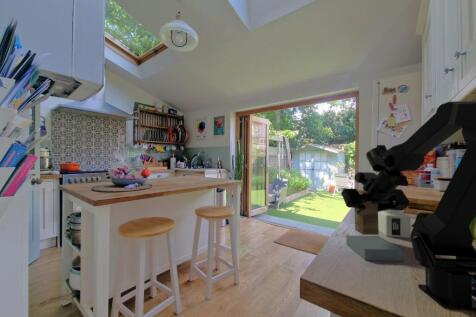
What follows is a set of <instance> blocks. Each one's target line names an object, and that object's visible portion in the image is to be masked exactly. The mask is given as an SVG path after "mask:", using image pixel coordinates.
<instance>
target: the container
mask: <svg viewBox="0 0 476 317" xmlns="http://www.w3.org/2000/svg"><path fill="white" fill-rule="evenodd" d="M396 204H397V203H396V201H395V202H394V206H395V205H396ZM395 207H396V206H395ZM411 219H412V218H411V216H410V215H409V214H406V213H405V208H397V207H396V208H395V209H390V210H385V211H381V212H378V230H379V232H380V233H381V234H383V235H384V236H385V237H390V238H392V237H393V238H405V239H406V238H407V239H411V238H410V236H411V232H412V229H411V227H412V226H411V225H412V224H411V223H412V222H411V221H412V220H411Z"/></svg>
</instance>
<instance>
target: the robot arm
mask: <svg viewBox="0 0 476 317" xmlns="http://www.w3.org/2000/svg"><path fill="white" fill-rule="evenodd" d="M459 130H461V135H462V138H463V140H464V144H465V146H466V149H465V152H464V153H463V155H462V157H461V159H460V161H459V163H458V165H457V167H456V169H455V171H454V173H453V174H452V177H451V179H450V180H449V182H448V184H447V187H446V188H445V190H444V193H443V195H441V199H440V200H439V201H438V204H437V206H436V208H435V209H434V211H433V212H418V214H417V215H416V217H415V221H414V222H413V224H411V227H412V229H411V236H410V238H409V239H410V242H411V247H412V250H413V254H414V258H415V260H416V261H417V262H418V265H420V266H421V267H424V268H425V269H424V270H425V284H421V283H419V284H417V285H418V286H417V287H418V288H419V289H420V290H421V291H422V292H424V293H426V295H428V296H429V297H430V298H431V299H432V300H433V301H435V302H436V303H437V304H439V305H440V306H441V307H443V308H447V309H448V308H449V309H458V310H471V311H472V310H473V311H476V302H475V301H474V300H473V274H472V273H474V274H476V248H475V246H473V242H474V239H475V236H474V234H473V232H472V229H471V227H470V226H471V223H472V221H473V220H474V219H475V218H476V101H473V100H464V101H463V100H460V101H459V100H458V101H446V102H444V103H442V104H439V106H438V107H437V108H436V111H435V113H434V114H433V115H432V116H431V117H430V118H429V119H428V120H427V121H426V122H424V124H422V125H421V126H420V127H419V128H418V129H417V130H416V131H415V132H414V133H413V134H412V135H411V136H409V137H408V138H407V140H405V141H403V142H402V143H400V144H395V145H392V146H391V147H390V148H388V149H387V147H386V145H385V144H377V145H376V147H373V148H371V149H370V150H368V151H367V152H366V153H365V157H366V159H367V161H368V163H369V164H370V167H371V169H372V170H373V171H374V172H371V171H370V172H369V171H368V172H367V171H365V172H363V171H361V172H360V171H359V172H358V171H357V172H356V173H355V175H354V180H355V181H356V183H358V184H362V185H363V186H362V190H364V191H366V193H363V194H359V193H358V191H357V190H358V189H357V188H350V187H349V188H343V189H342V190H341V196H342V198H343V201H344V204H345V205H346V207H347V208H351V209H354V213H355V212H356V213H358V212H360V211H362V210H364V209H366V207H365V205H364V204H365V203H366V202H372V203H378V212H381V211H385V210H390V209H395V208H396V207H397V208H404V209H407V208H408V207H409V206H410V200H409V198H408V197H407V196H406V194H405V193H404V191H403V190H402V189H401V188H398V187H399V186H401V187H409V181H408V179H407V176H406V175H405V174H404V172H415V171H417V170H419V169H420V167H421V166H423V165H424V164H425V161H426V156H427V154H428V153H430V152H431V151H433V150H434V149H435V148H437V147H438V146H440V145H441V144H442V143H444V142H445V141H446V140H447V139H449V138H450V137H452V136H453V135H454V134H456V133H458V131H459ZM375 172H376V173H377V174H376V173H375ZM395 201H396V203H397V204H396V205H395V206H396V207H395V206H394V202H395ZM437 256H444V257H437ZM445 256H446V257H445ZM447 257H449V258H447ZM450 257H455V258H450ZM470 273H471V274H470Z"/></svg>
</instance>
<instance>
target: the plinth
mask: <svg viewBox="0 0 476 317" xmlns="http://www.w3.org/2000/svg"><path fill="white" fill-rule="evenodd" d="M346 246H347V247H348V248H350V249H351V250H352V251H353V252H354V253H355V254H357V255H358V256H359V257H361V259H363V260H364V261H389V262H391V261H395V262H397V261H399V262H403V260H404V259H403V249H402V248H400V247H398V246H397V245H395V244H393V243H391V242H390V241H387V240H386V239H384V238H382V237H380V236H379V235H373V236H372V235H346Z"/></svg>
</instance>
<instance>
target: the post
mask: <svg viewBox="0 0 476 317" xmlns="http://www.w3.org/2000/svg"><path fill="white" fill-rule="evenodd" d="M357 191H358V193H359V194H363V193H366V191H364V190H363V189H362V190H361V189H360V190H359V189H357ZM364 205H365V207H366V209H364V210H362V211H360V212H358V213H356V212H355V211H354V230H355V231H357V232H358V233H360V234H361V235H362V236H372V235H373V236H379V235H380V233H379V232H380V231H379V230H378V203H372V202H366V203H365V204H364Z"/></svg>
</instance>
